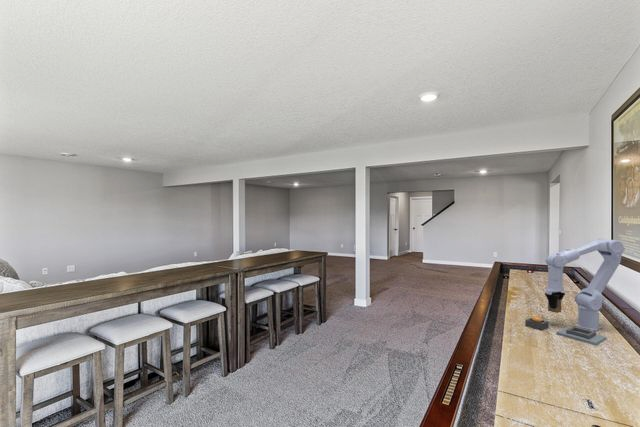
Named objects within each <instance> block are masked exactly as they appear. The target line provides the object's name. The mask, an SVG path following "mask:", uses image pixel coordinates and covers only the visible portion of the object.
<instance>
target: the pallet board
mask: <svg viewBox="0 0 640 427" xmlns="http://www.w3.org/2000/svg"><path fill="white" fill-rule="evenodd" d="M555 333H556V335H557V336H561V337H564V338H568V339H571V340H575V341H580V342H583V343H587V344H590V345H594V346H598V345H599V344H601V343H602V342H605V341H606V340H607V336H606V335H602V334H597V332H596V331H593V330H589V329H585V328H581V327H577V326H571V327H570V326H566V327H564V328H562V329H560V330H557V331H556V332H555Z"/></svg>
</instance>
